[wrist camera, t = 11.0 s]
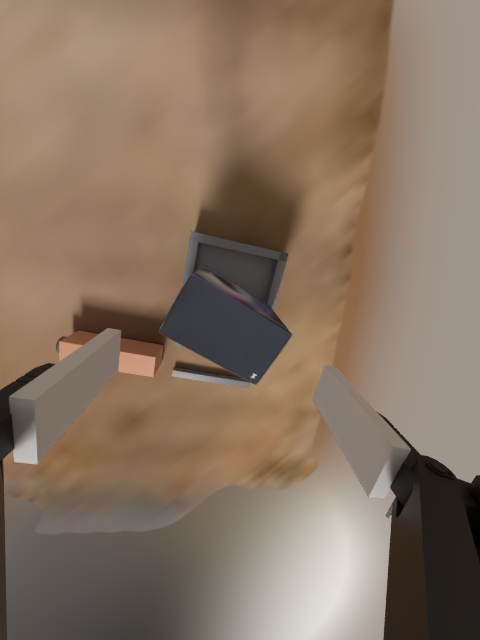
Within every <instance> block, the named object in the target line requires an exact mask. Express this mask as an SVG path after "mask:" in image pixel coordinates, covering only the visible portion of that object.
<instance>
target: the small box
mask: <svg viewBox="0 0 480 640" xmlns="http://www.w3.org/2000/svg"><path fill="white" fill-rule="evenodd" d="M158 333H160V334H162V335H163V336H165V337H167V338H169V339H171V340H173V341H174V342H176V343H178V344H180V345H182V346H184V347H186V348H187V349H189V350H191V351H193V352H195V353H197V354H199V355H200V356H202V357H204V358H206V359H208V360H210V361H212V362H213V363H215V364H217V365H219V366H221V367H223V368H225V369H226V370H228V371H230V372H232V373H234V374H236V375H238V376H240V377H241V378H243V379H245V380H247V381H249V382H251V383H253V384H254V385H257V384H258V383H259V382H260V380H261V379H262V377H263V376H264V375H265V373H266V372H267V370H268V369H269V368H270V366H271V365H272V364H273V362H274V361H275V359H276V358H277V357H278V355H279V354H280V353H281V351H282V350H283V348H284V347H285V346H286V344H287V343H288V341H289V340H290V339H291V337H292V334H291V333H290V332H289V330H288V329H287V328H286V326H285V325H284V324H283V323H282V321H281V320H280V319H279V317H278V316H277V315H276V313H275V312H274V311H273V309H272V308H271V307H270V306H268V305H267V304H265V303H264V302H262V301H261V300H259V299H258V298H256V297H254V296H253V295H251V294H250V293H248V292H247V291H245V290H243V289H242V288H240V287H239V286H237V285H236V284H234V283H232V282H231V281H229V280H228V279H226V278H224V277H223V276H221V275H220V274H218V273H216V272H215V271H213V270H211V269H210V268H208V267H206V266H203V267H201V268H200V269H199V270H197V271H195V272H194V273H192V274H191V275H190V276H189V278H188V279H187V281H186V283H185V284H184V286H183V288H182V289H181V291H180V293H179V295H178V296H177V298H176V300H175V302H174V303H173V305H172V307H171V309H170V311H169V312H168V314H167V316H166V318H165V320H164V321H163V323H162V325H161V327H160V329H159V331H158Z"/></svg>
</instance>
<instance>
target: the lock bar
mask: <svg viewBox="0 0 480 640" xmlns="http://www.w3.org/2000/svg"><path fill="white" fill-rule="evenodd" d="M97 335H98V334H96V333H90V332H84V331H77V332H75V333H73V334H71V335H70V336H68V337H64V336H63V337H61V338H60V339H59V340H58V342H57V344H56V351H57V352H59V362H60V361H61V360H62V359H64V358H65V357H67V356H68V355H70V354H71V353H73V352H74V351H75V350H77V349H78V348H80V347H81V346H83V345H84V344H85V343H87V342H88V341H90V340H91V339H93V338H94V337H96V336H97ZM163 346H164V345H159V344H154V343H148V342H142V341H136V340H131V339H125V338H121V342H120V355H119V369H118V372H124V373H130V374H137V375H143V376H149V377H154V375H155V373H156V371H157V370H158V368H159V366H160V364H161V362H162V354H163Z"/></svg>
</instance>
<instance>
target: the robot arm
mask: <svg viewBox="0 0 480 640" xmlns="http://www.w3.org/2000/svg"><path fill="white" fill-rule="evenodd" d="M120 342H121V330H117V329H112V328H107V329H106V330H104V331H103V332H101V333H100V334H98V335H97V336H96V337H94V338H93V339H91V340H90V341H88V342H87V343H85V344H84V345H83V346H81V347H80V348H78V349H77V350H75V351H74V352H73V353H71V354H70V355H68V356H67V357H65V358H64V359H62V360H61V361H60V362H58V363H57V364H51V363H47V364H45V365H42V366H39V367H36V368H34V369H33V370H31V371H29V372H28V373H26V374H25V375H24V376H22V377H20V378H18V379H17V380H16V381H15V382H12V383H11V384H9V385H8V386H6V387H4V388H3V389H1V390H0V640H7V620H6V619H7V618H6V617H7V615H6V572H5V571H6V567H5V520H4V473H3V459H4V458H5V457H6V456H7V455H8V454H9V453H10V452H11V451H12V450H13V452H14V462H20V463H30V464H38V463H39V462H40V461H41V460H42V459H43V457H44V456H45V455H46V454H47V453H48V452H49V450H50V449H51V448H52V447H53V446H54V445H55V443H56V442H57V441H58V440H59V439H60V438H61V437H62V435H63V434H64V433H65V432H66V431H67V430H68V428H69V427H70V426H71V425H72V424H73V423H74V421H75V420H76V419H77V418H78V417H79V416H80V414H81V413H82V412H83V411H84V410H85V409H86V407H87V406H88V405H89V404H90V403H91V402H92V400H93V399H94V398H95V397H96V396H97V395H98V394H99V392H100V391H101V390H102V389H103V388H104V387H105V385H106V384H107V383H108V382H109V381H110V380H111V378H112V377H113V376H114V375H115V374H116V373H117V371H118V369H119V355H120ZM313 401H314V403H315V405H316V407H317V408H318V410H319V412H320V414H321V415H322V417H323V419H324V420H325V422H326V424H327V426H328V428H329V429H330V431H331V433H332V435H333V436H334V438H335V440H336V441H337V443H338V445H339V446H340V448H341V450H342V452H343V454H344V455H345V457H346V459H347V461H348V462H349V464H350V466H351V467H352V469H353V471H354V473H355V475H356V476H357V478H358V480H359V481H360V483H361V485H362V487H363V488H364V490H365V492H366V494H367V495H368V497H372V498H373V497H374V498H383V499H384V498H385V497H386V495H387V493H388V491H389V489H390V488H391V490H392V491H393V492H394V494H395V495H396V498H395V499H394V501H393V503H392V505H391V507H390V508H389V510H388V512H387V514H386V517H388V518H389V516H390V515H392V521H391V536H390V551H389V566H388V580H387V595H386V610H385V626H384V640H480V475H479V476H476V477H475V478H474V480H473V481H472V483H468V482H465V481H462V480H460V479H457V478H456V476H455V475H454V474H453V473H452V472H451V471H450V470H449V469H448V468H447V467H445V466H444V465H443V464H441V463H440V462H438V461H437V460H435V459H433V458H430V457H428V456H424V455H420V454H419V453H418V452H417V450H416V449H415V448H414V447H412V445H411V444H410V443H409V442H408V441H407V440H406V439H405V438H404V437H403V436H402V435H401V434H400V432H399V431H398V430H397V429H396V428H394V426H393V425H392V424H391V423H390V422H389V421H388V420H387V419H386V418H385V417H384V416H382V415H381V414H379V413H378V412H376V411H375V410H374V408H373V407H372V406H371V405H370V404H369V403H368V402H367V401H366V400H365V399H364V397H363V396H362V395H361V394H360V393H359V392H358V391H357V390H356V389H355V388H354V387H353V385H352V384H351V383H349V381H348V380H347V379H346V378H345V377H344V376H343V375H342V374H341V372H340V371H339V370H338V369H337V368H336V367H332V366H326V365H325V366H324V369H323V372H322V375H321V378H320V380H319V383H318V386H317V389H316V392H315V394H314V397H313Z"/></svg>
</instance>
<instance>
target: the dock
mask: <svg viewBox="0 0 480 640" xmlns="http://www.w3.org/2000/svg"><path fill="white" fill-rule="evenodd" d="M287 257H288V254H287V253H283V252H279V251H274V250H270V249H266V248H261V247H257V246H253V245H248V244H244V243H240V242H235V241H231V240H227V239H222V238H218V237H214V236H209V235H205V234H201V233H196V232H192V231H191V235H190V242H189V249H188V256H187V262H186V269H185V276H184V283H183V286H184V284H185V283H186V281H187V279H188V278H189V276H190V275H191V274H192V273H194V272H195V271H197V270H199V269H200V268H201V267H203V266H206V267H208V268H210V269H211V270H213V271H215V272H216V273H218V274H220V275H221V276H223V277H224V278H226V279H228V280H229V281H231V282H232V283H234V284H236V285H237V286H239V287H240V288H242V289H243V290H245V291H247V292H248V293H250V294H251V295H253V296H254V297H256V298H258V299H259V300H261V301H262V302H264V303H265V304H267V305H268V306H270V307H271V308H272V309H274V306H275V302H276V298H277V294H278V291H279V287H280V283H281V279H282V276H283V272H284V268H285V264H286V261H287ZM174 347H180V348H182V345H180V344H178V343H176V342H175V345H174ZM172 376H175V377H181V378H187V379H194V380H200V381H206V382H213V383H219V384H225V385H231V386H238V387H244V388H249V385H250V382H249V381H247V380H245V379H243V378H238V377H232V376H226V375H220V374H214V373H208V372H202V371H195V370H189V369H183V368H177V367H174V369H173V374H172Z"/></svg>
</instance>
